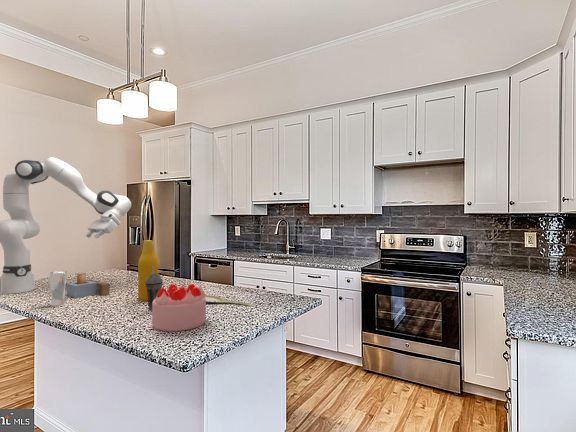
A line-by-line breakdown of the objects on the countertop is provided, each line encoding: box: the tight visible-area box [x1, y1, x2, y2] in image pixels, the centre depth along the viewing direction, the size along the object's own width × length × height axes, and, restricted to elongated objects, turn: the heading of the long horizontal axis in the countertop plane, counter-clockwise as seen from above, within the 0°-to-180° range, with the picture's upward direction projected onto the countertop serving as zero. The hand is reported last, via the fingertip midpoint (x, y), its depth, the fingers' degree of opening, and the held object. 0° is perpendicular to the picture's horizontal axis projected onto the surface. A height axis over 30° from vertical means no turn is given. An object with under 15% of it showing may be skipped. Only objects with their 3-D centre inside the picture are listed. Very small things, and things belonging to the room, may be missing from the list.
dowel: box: [76, 272, 87, 285], centre depth 179 cm, size 4×4×10 cm
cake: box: [151, 283, 207, 332], centre depth 132 cm, size 20×20×14 cm
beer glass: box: [48, 270, 68, 307], centre depth 159 cm, size 7×7×15 cm
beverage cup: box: [145, 264, 164, 311], centre depth 153 cm, size 7×7×20 cm
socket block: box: [66, 281, 98, 299], centre depth 179 cm, size 10×10×6 cm
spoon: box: [204, 294, 256, 307], centre depth 163 cm, size 35×11×2 cm, turn 71°
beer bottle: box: [137, 239, 159, 302], centre depth 170 cm, size 9×9×29 cm
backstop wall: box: [86, 279, 110, 297], centre depth 183 cm, size 20×3×6 cm, turn 56°
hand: (91, 237), depth 188 cm, fingers open, 8 cm apart
